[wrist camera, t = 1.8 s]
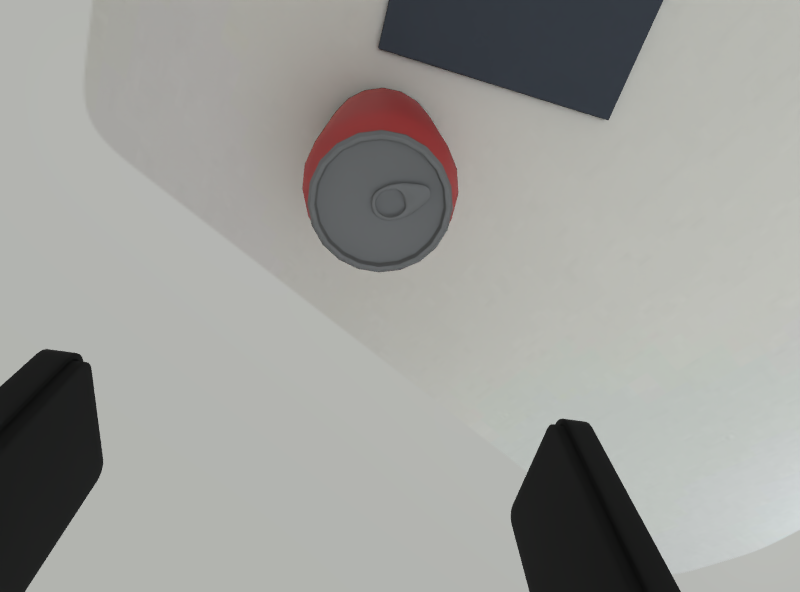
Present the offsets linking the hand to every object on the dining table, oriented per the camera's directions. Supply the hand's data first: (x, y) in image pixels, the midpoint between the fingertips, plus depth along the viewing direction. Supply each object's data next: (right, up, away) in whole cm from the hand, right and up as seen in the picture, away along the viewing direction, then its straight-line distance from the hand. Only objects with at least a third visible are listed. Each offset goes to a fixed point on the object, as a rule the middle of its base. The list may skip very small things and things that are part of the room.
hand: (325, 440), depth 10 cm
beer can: (0, +12, +19) cm, 23 cm away
